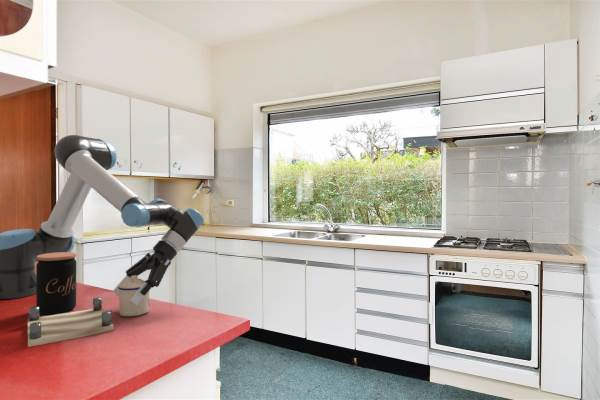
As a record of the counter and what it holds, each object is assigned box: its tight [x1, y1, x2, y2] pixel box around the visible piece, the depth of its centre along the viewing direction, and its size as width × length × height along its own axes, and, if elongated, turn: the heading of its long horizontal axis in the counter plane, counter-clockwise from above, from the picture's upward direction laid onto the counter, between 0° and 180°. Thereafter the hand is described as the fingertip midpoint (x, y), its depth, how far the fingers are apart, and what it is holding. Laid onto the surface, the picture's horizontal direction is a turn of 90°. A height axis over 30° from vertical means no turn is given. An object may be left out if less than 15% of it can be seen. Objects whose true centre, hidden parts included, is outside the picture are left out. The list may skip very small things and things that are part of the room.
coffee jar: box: [35, 251, 77, 316], centre depth 117 cm, size 11×11×18 cm
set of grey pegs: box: [28, 296, 112, 340], centre depth 103 cm, size 18×18×4 cm
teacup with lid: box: [118, 275, 150, 317], centre depth 117 cm, size 12×9×12 cm
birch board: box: [27, 307, 115, 348], centre depth 103 cm, size 19×19×2 cm
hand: (123, 298), depth 116 cm, fingers open, 13 cm apart
